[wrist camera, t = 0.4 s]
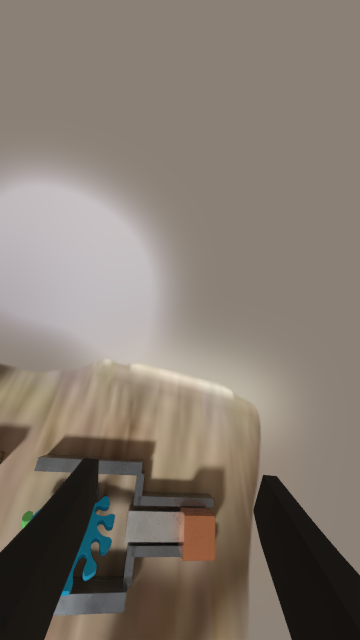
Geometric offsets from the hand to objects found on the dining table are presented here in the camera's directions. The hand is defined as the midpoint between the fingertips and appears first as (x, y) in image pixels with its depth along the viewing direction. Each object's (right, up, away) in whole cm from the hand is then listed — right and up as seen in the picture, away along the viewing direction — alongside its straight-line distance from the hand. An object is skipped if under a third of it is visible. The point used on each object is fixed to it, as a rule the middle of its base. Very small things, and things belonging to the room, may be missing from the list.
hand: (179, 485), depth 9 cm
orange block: (-2, -21, +21) cm, 30 cm away
